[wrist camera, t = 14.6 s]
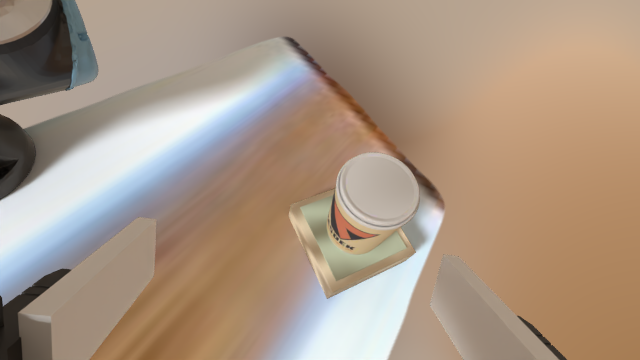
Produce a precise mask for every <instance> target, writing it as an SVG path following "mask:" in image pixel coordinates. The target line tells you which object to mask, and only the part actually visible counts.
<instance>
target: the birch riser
mask: <svg viewBox="0 0 640 360" xmlns="http://www.w3.org/2000/svg"><path fill="white" fill-rule="evenodd" d="M334 191H335V189H332V190H329V191H326V192H324V193H321V194H318V195H315V196H313V197H310V198H307V199H304V200H301V201H299V202H296V203H293V204H291V206H290V211H289V218H290V220H291V223H292V225H293V227H294V229H295V231H296V233H297V235H298V237H299V240H300V242H301V244H302V246H303V248H304V250H305V252H306V255H307V257H308V259H309V261H310V263H311V265H312V267H313V270H314V272H315V274H316V276H317V278H318V280H319V282H320V285H321V287H322V289H323V291H324V293H325V295H326V297H327V299H328V298H330V297H332V296H334V295H336V294H338V293H340V292H342V291H344V290H347V289H349V288H351V287H353V286H355V285H357V284H359V283H361V282H363V281H365V280H367V279H369V278H371V277H373V276H375V275H377V274H380V273H382V272H384V271H386V270H388V269H390V268H392V267H394V266H396V265H398V264H400V263H402V262H404V261H406V260H407V259H408V258H410V257H411V256H412V255H413V254H414V253H416V252H415V250H414V248H413V247H412V245H411V244H410V242H409V240H408V239H407V237H406V235H405V234H404V232H403V230H402V229H401V227H400V228H399V229H398V230H396V231H395V232H394V233H393V234H392V235H390V236H389V237H388V238H387V239H386V240H384V241H383V242H382V243H381V244H379V245H378V246H377V247H376V248H374V249H373V250H372V251H370V252H368V253H365V254H361V255H352V254H348V253H345V252H343V251H341V250H340V249H339V248H337V247H336V246H335V245H334V244H333V242H332V241H331V239H330V238H329V235H328V232H327V218H328V214H329V210H330V206H331V202H332V199H333V195H334Z"/></svg>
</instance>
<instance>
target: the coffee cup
mask: <svg viewBox="0 0 640 360" xmlns="http://www.w3.org/2000/svg"><path fill="white" fill-rule="evenodd" d="M419 201H420V194H419V186H418V183H417V180H416V178H415V176H414V175H413V173H412V172H411V171H410V169H409V168H408V167H407V166H406V165H405V164H403V163H402V162H401V161H400V160H398V159H396V158H394V157H392V156H390V155H387V154H383V153H378V152H369V153H364V154H360V155H358V156H356V157H354V158H352V159H350V160H349V161H347V162H346V163H345V164H344V165H343V167H342V168H341V170H340V172H339V174H338V177H337V181H336V187H335V191H334V195H333V199H332V202H331V206H330V210H329V214H328V218H327V232H328V235H329V238H330V239H331V241H332V242H333V244H334V245H335V246H336V247H337V248H339V249H340V250H341V251H343V252H345V253H348V254H352V255H361V254H365V253H368V252H370V251H372V250H373V249H374V248H376V247H377V246H378V245H379V244H381V243H382V242H383V241H384V240H386V239H387V238H388V237H389V236H390V235H392V234H393V233H394V232H395V231H396V230H398V229H399V228H400V227H401V226H403V225H405V224H406V223H407V222H409V221H410V220H411V219H412V218H413V216H414V215H415V213H416V211H417V209H418V206H419Z"/></svg>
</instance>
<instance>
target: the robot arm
mask: <svg viewBox="0 0 640 360" xmlns="http://www.w3.org/2000/svg"><path fill="white" fill-rule="evenodd" d="M97 75H98V65H97V61H96V57H95V54H94V50H93V47H92V44H91V42H90V39H89V37H88V35H87V31H86V28H85V25H84V22H83V19H82V17H81V14H80V11H79V9H78V6H77V4H76V2H75V0H0V105H3V104H7V103H11V102H15V101H20V100H24V99H29V98H33V97H37V96H42V95H46V94H50V93H55V92H59V91H63V90H66V91H67V90H70V89H73V88H74V87H75V86H79V85H82V84H86V83H89V82H91V81H93V80H94V79H95V78H96V77H97ZM34 160H35V146H34V143H33V141H32V139H31V138H30V136H29V135H28V134H27V133H26V132H25V131H24V130H23V129H22V128H21V127H20V126H19V125H18V124H17V123H16V122H14V121H13V120H11V119H10V118H7V117H5V116H2V115H1V114H0V199H1V198H3V197H4V196H6V195H7V194H9V193H10V192H11V191H13V190H14V189H15V188H16V187H17V186H18V185H19V184H20V183H21V182H22V181H23V180H24V179H25V178H26V176H27V175H28V173H29V172H30V170H31V168H32V166H33V163H34ZM156 222H157V219H149V218H141V217H138V218H137V219H135V220H134V221H133V222H132V223H130V224H129V225H128V226H127V227H125V228H124V229H123V230H122V231H120V232H119V233H118V234H117V235H115V236H114V237H113V238H112V239H110V240H109V241H108V242H107V243H105V244H104V245H103V246H102V247H100V248H99V249H98V250H96V251H95V252H94V253H93V254H91V255H90V256H89V257H88V258H86V259H85V260H84V261H83V262H81V263H80V264H79V265H78V266H76V267H75V268H74V269H73V270H70V269H60V270H58V271H55V272H53V273H51V274H48V275H46V276H44V277H43V278H41V279H40V280H39V281H37V282H36V283H35V284H33V285H32V287H29V288H28V289H26V290H25V291H24V292H22V294H21V295H18V296H17V297H15V298H14V299H13V300H11V301H10V302H9V303H7V304H6V305H5V306H3V304H2V297H1V296H0V360H89V359H90V358H91V357H92V355H93V354H94V353H95V351H96V350H97V349H98V348H99V346H100V345H101V344H102V342H103V341H104V340H105V339H106V337H107V336H108V335H109V333H110V332H111V331H112V329H113V328H114V327H115V326H116V324H117V323H118V322H119V320H120V319H121V318H122V317H123V315H124V314H125V313H126V311H127V310H128V309H129V308H130V306H131V305H132V304H133V302H134V301H135V300H136V298H137V297H138V296H139V295H140V293H141V292H142V291H143V289H144V288H145V287H146V286H147V284H148V283H149V282H150V280H151V279H152V278H153V277H154V264H155V243H156ZM430 306H431V308H432V310H433V311H434V313H435V315H436V316H437V318H438V319H439V321H440V323H441V324H442V326H443V327H444V329H445V331H446V332H447V334H448V336H449V337H450V338H451V341H452V342H453V344H454V345H455V347H456V349H457V350H458V352H459V354H460V355H461V357H462V358H463V360H567V359H566V358H565V357H564V356H563V355H562V354H561V353H560V352H559V351H558V350H557V349H556V348H555V347H554V346H553V345H551V343H550V342H549V341H548V340H547V339H546V338H545V337H543V336H542V334H541V333H540V332H539V331H538V330H537V329H536V328H535V327H534V326H533V325H532V324H530V323H528V322H527V321H526V320H524V319H523V318H521V317H520V316H516V315H515V314H514V313H513V312H512V311H511V310H510V309H509V308H508V306H507V305H506V304H504V302H503V301H502V300H501V299H500V298H499V297H498V296H497V295H496V294H495V293H494V292H493V291H492V290H491V289H490V288H489V287H488V286H487V285H486V284H485V283H484V282H483V281H482V280H481V279H480V278H479V277H478V276H477V275H476V274H475V273H474V272H473V270H471V268H470V267H469V266H468V265H467V264H466V263H465V262H464V261H463V260H462V259H461V258H460V257H459V256H452V255H443V258H442V262H441V266H440V269H439V273H438V276H437V280H436V284H435V287H434V291H433V295H432V299H431V302H430Z"/></svg>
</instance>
